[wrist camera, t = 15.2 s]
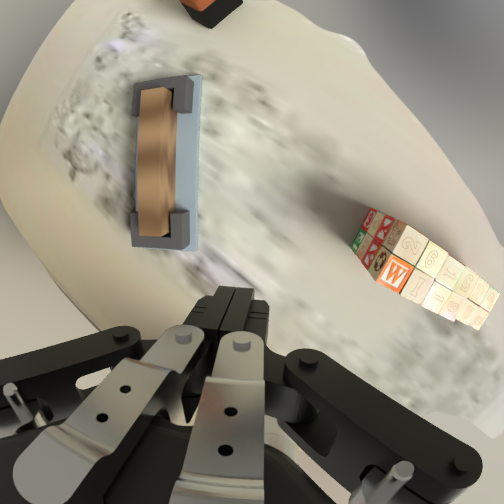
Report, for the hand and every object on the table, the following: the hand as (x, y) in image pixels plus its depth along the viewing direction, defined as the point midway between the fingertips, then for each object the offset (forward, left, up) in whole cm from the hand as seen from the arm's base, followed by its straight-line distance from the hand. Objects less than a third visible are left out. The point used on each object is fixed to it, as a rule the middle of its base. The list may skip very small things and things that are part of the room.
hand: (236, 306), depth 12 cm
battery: (+31, +8, -25) cm, 41 cm away
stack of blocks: (-5, -22, -25) cm, 34 cm away
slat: (+7, +14, -24) cm, 29 cm away
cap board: (+7, +14, -25) cm, 29 cm away
